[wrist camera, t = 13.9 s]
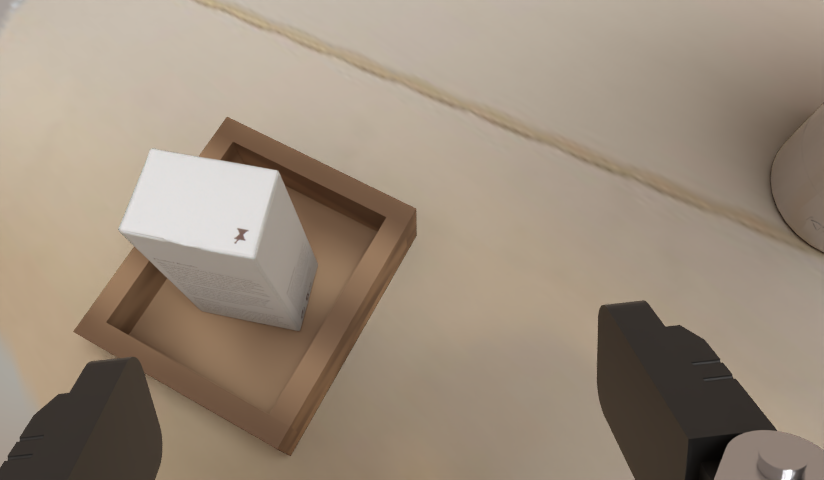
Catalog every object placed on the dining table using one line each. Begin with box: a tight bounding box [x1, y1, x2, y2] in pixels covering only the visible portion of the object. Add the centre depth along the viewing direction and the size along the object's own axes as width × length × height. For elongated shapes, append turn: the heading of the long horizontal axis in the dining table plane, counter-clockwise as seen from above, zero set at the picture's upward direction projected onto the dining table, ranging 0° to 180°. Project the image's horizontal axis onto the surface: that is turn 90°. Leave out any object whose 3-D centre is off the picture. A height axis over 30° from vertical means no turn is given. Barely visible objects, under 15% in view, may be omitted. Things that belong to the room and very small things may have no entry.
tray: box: [73, 117, 417, 456], centre depth 41 cm, size 14×12×4 cm
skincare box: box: [118, 148, 318, 331], centre depth 36 cm, size 6×4×12 cm
